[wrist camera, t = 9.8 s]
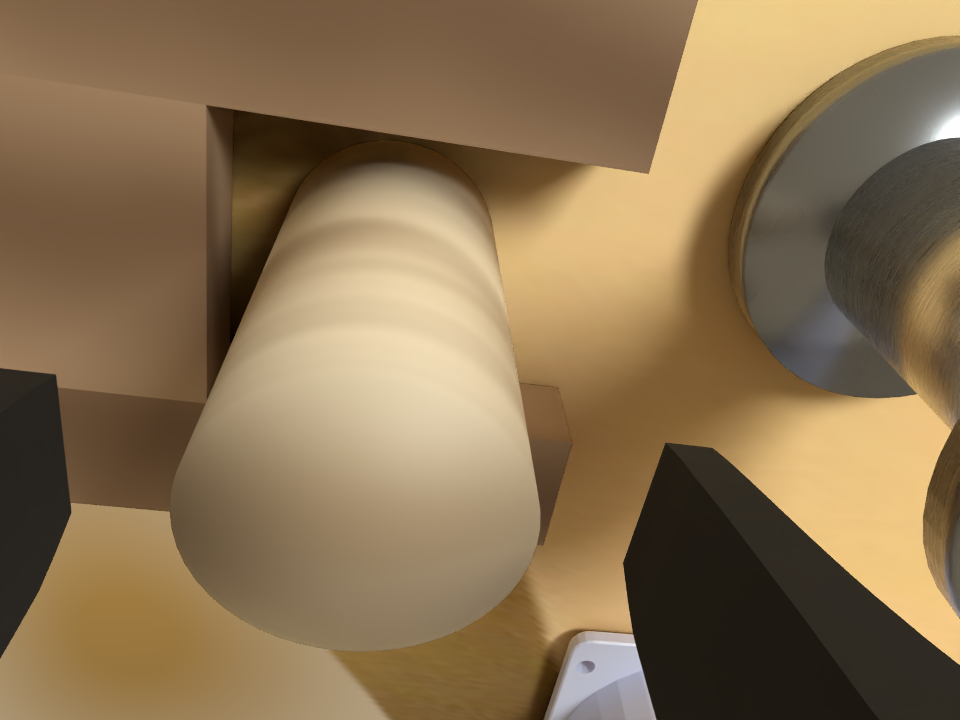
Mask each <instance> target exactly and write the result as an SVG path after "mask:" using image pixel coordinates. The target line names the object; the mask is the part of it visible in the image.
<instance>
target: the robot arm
mask: <svg viewBox="0 0 960 720" xmlns="http://www.w3.org/2000/svg"><path fill="white" fill-rule="evenodd" d="M70 515H71V504H70V495H69V486H68V477H67V468H66V459H65V450H64V441H63V432H62V423H61V414H60V405H59V396H58V387H57V378H56V374H48V373H39V372H30V371H21V370H12V369H3V368H0V658H1V656H2V655H3V653H4V651H5V649H6V647H7V646H8V644H9V642H10V640H11V639H12V637H13V636H14V634H15V632H16V630H17V629H18V627H19V625H20V623H21V621H22V619H23V618H24V616H25V615H26V613H27V611H28V609H29V608H30V606H31V604H32V602H33V601H34V599H35V597H36V595H37V593H38V592H39V590H40V587H41V585H42V583H43V580H44V578H45V576H46V573H47V571H48V569H49V566H50V564H51V562H52V560H53V557H54V555H55V552H56V550H57V547H58V545H59V542H60V540H61V537H62V535H63V532H64V530H65V527H66V525H67V522H68V520H69V517H70ZM623 566H624V573H625V581H626V589H627V597H628V604H629V611H630V617H631V623H632V629H633V634H623V633H610V632H597V631H585V632H582V633H579V634H577V635H576V636H574V637H573V638H572V639H571V641H570V642H569V645H568V648H567V651H566V654H565V657H564V660H563V663H562V666H561V669H560V672H559V675H558V678H557V681H556V684H555V687H554V690H553V693H552V696H551V699H550V702H549V705H548V708H547V711H546V714H545V717H544V720H960V665H959V664H957V663H956V662H955V661H954V660H952V659H951V658H950V657H949V656H947V655H946V654H945V653H943V652H942V651H941V650H940V649H938V648H937V647H936V646H935V645H933V644H932V643H931V642H930V641H928V640H927V639H926V638H925V637H923V636H922V635H921V634H920V633H919V632H917V631H916V630H915V629H914V628H913V627H911V626H910V625H909V624H908V623H907V622H905V621H904V620H903V619H902V618H901V617H899V616H898V615H897V614H896V613H895V612H894V611H892V610H891V609H890V608H889V607H888V606H886V605H885V604H884V603H883V602H882V601H880V600H879V599H878V598H877V597H876V596H874V595H873V594H872V593H871V592H870V591H869V590H868V589H867V588H865V587H864V586H863V585H862V584H861V583H860V582H859V581H857V580H856V579H855V578H854V577H853V576H852V575H851V574H849V573H848V572H847V571H846V570H845V569H844V568H843V567H842V566H841V565H840V564H838V563H837V562H836V561H835V560H834V559H833V558H832V557H831V556H830V555H829V554H827V553H826V552H825V551H824V550H823V549H822V548H821V547H820V546H819V545H818V544H817V543H816V542H814V541H813V540H812V539H811V538H810V537H809V536H808V535H807V534H806V533H805V532H804V531H803V530H802V529H801V528H799V527H798V526H797V525H796V524H795V523H794V522H793V521H792V520H791V519H790V518H789V517H788V516H787V515H786V514H785V513H784V512H782V511H781V510H780V509H779V508H778V507H777V506H776V505H775V504H774V503H773V502H772V501H771V500H770V499H769V498H768V497H767V496H766V495H764V494H763V493H762V492H761V491H760V490H759V489H758V488H757V487H756V486H755V485H754V484H753V483H752V482H751V481H750V480H748V479H747V478H746V477H745V476H744V475H743V474H742V473H741V472H740V471H739V470H738V469H737V468H735V467H734V466H733V465H732V464H731V463H730V462H729V461H727V460H726V459H725V458H724V457H723V456H722V455H720V454H719V453H718V452H717V451H715V450H714V449H713V448H708V447H699V446H690V445H681V444H672V443H665V446H664V449H663V452H662V455H661V457H660V460H659V463H658V466H657V469H656V472H655V474H654V477H653V480H652V483H651V486H650V488H649V491H648V494H647V497H646V500H645V503H644V505H643V508H642V511H641V514H640V517H639V519H638V522H637V525H636V528H635V531H634V534H633V536H632V539H631V542H630V545H629V548H628V551H627V553H626V556H625V559H624V562H623Z"/></svg>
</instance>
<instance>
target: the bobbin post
mask: <svg viewBox="0 0 960 720" xmlns="http://www.w3.org/2000/svg"><path fill="white" fill-rule="evenodd" d="M729 268H730V275H731V281H732V285H733V288H734V292H735V295H736V298H737V301H738V303H739V305H740V307H741V309H742V311H743V313H744V315H745V317H746V318H747V320H748V321H749V323H750V324H751V325H752V327H753V328H754V330H755V331H756V332H757V334H758V335H759V337H760V338H761V340H762V341H763V342H764V344H765V345H766V346H767V348H768V349H769V351H770V352H771V353H772V355H773V356H774V357H775V358H776V359H777V360H778V361H779V362H780V363H781V364H782V365H783V366H784V367H785V368H786V369H788V370H789V371H791V372H792V373H794V374H795V375H796V376H798V377H799V378H801V379H803V380H805V381H807V382H809V383H811V384H813V385H815V386H817V387H819V388H822V389H825V390H828V391H831V392H834V393H838V394H843V395H849V396H854V397H866V398H890V397H902V396H908V395H914V394H918V395H919V396H920V397H921V398H922V399H923V401H924V402H925V403H926V404H927V405H928V406H929V407H930V408H931V409H932V410H933V411H934V412H935V413H936V414H937V415H938V417H939V418H940V419H941V420H942V421H943V422H944V423H945V424H946V425H947V426H948V427H949V428H950V429H951V430H952V431H951V433H950V435H949V437H948V439H947V441H946V443H945V445H944V447H943V449H942V451H941V453H940V455H939V457H938V460H937V463H936V466H935V469H934V472H933V475H932V478H931V481H930V484H929V487H928V491H927V497H926V503H925V509H924V515H923V544H924V549H925V553H926V558H927V563H928V567H929V569H930V572H931V574H932V576H933V578H934V581H935V583H936V585H937V588H938V589H939V590H940V592H941V593H942V595H943V596H944V597H945V599H946V600H947V602H948V603H949V604H950V606H951V607H952V609H953V610H954V612H955V613H956V614H957V616H958V617H959V619H960V36H941V37H935V38H929V39H923V40H918V41H913V42H910V43H906V44H903V45H900V46H897V47H893V48H890V49H887V50H885V51H883V52H880V53H878V54H876V55H874V56H871V57H869V58H867V59H864V60H862V61H861V62H859V63H857V64H855V65H854V66H852V67H850V68H848V69H847V70H845V71H843V72H842V73H840V74H838V75H837V76H835V77H834V78H833V79H831V80H830V81H828V82H827V83H826V84H824V85H823V86H822V87H820V88H819V89H818V90H816V91H815V92H814V93H813V94H812V95H810V96H809V97H808V98H807V99H806V100H805V101H804V102H803V103H802V104H801V105H799V106H798V107H797V108H796V109H795V110H794V111H793V112H792V113H791V114H790V115H789V117H788V118H787V119H786V120H785V121H784V122H783V123H782V124H781V126H780V127H779V128H778V129H777V130H776V131H775V133H774V134H773V135H772V137H771V138H770V140H769V141H768V142H767V144H766V145H765V147H764V148H763V149H762V151H761V152H760V154H759V156H758V157H757V159H756V161H755V163H754V165H753V166H752V168H751V170H750V172H749V174H748V175H747V178H746V180H745V183H744V185H743V187H742V190H741V192H740V195H739V197H738V200H737V204H736V207H735V211H734V215H733V218H732V223H731V230H730V237H729Z"/></svg>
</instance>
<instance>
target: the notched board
mask: <svg viewBox="0 0 960 720" xmlns="http://www.w3.org/2000/svg"><path fill="white" fill-rule="evenodd" d="M697 2H698V0H0V368H3V369H12V370H21V371H30V372H39V373H48V374H56V378H57V387H58V396H59V405H60V414H61V423H62V432H63V441H64V450H65V459H66V468H67V477H68V486H69V495H70V503H82V504H92V505H104V506H115V507H125V508H136V509H148V510H158V511H169V512H170V499H171V490H172V486H173V482H174V478H175V474H176V472H177V469H178V467H179V465H180V462H181V460H182V458H183V455H184V453H185V451H186V448H187V446H188V444H189V441H190V439H191V437H192V434H193V432H194V430H195V427H196V425H197V423H198V420H199V418H200V416H201V413H202V411H203V409H204V406H205V404H206V402H207V399H208V397H209V395H210V392H211V390H212V388H213V385H214V383H215V381H216V378H217V376H218V374H219V371H220V369H221V367H222V364H223V362H224V360H225V357H226V355H227V353H228V350H229V348H230V303H231V237H232V170H233V109H235V110H241V111H248V112H254V113H261V114H267V115H273V116H280V117H286V118H293V119H299V120H306V121H312V122H318V123H325V124H331V125H338V126H344V127H351V128H357V129H363V130H370V131H376V132H383V133H389V134H396V135H402V136H408V137H415V138H421V139H428V140H434V141H441V142H447V143H453V144H460V145H466V146H473V147H479V148H486V149H492V150H499V151H505V152H511V153H518V154H524V155H531V156H537V157H544V158H550V159H556V160H563V161H569V162H576V163H582V164H589V165H595V166H601V167H608V168H614V169H621V170H627V171H634V172H640V173H646V174H649V171H650V167H651V164H652V160H653V157H654V153H655V150H656V146H657V143H658V139H659V136H660V132H661V129H662V125H663V122H664V118H665V114H666V111H667V107H668V104H669V100H670V97H671V93H672V90H673V86H674V83H675V79H676V76H677V72H678V69H679V65H680V62H681V58H682V55H683V51H684V48H685V44H686V40H687V37H688V33H689V30H690V26H691V23H692V19H693V16H694V12H695V9H696V5H697ZM519 385H520V391H521V397H522V403H523V409H524V415H525V421H526V426H527V432H528V438H529V444H530V450H531V456H532V462H533V468H534V473H535V479H536V485H537V491H538V498H539V504H540V532H539V537H538V542H537V545H543V544H544V541H545V537H546V534H547V530H548V527H549V523H550V520H551V516H552V513H553V509H554V506H555V502H556V499H557V495H558V491H559V488H560V484H561V481H562V477H563V474H564V470H565V467H566V463H567V460H568V456H569V453H570V449H571V446H572V440H571V436H570V432H569V428H568V424H567V420H566V416H565V412H564V408H563V404H562V400H561V396H560V392H559V388H556V387H547V386H539V385H530V384H522V383H519Z"/></svg>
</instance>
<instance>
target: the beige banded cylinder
mask: <svg viewBox="0 0 960 720" xmlns="http://www.w3.org/2000/svg"><path fill="white" fill-rule="evenodd" d="M170 518H171V527H172V531H173V535H174V538H175V542H176V545H177V548H178V550H179V552H180V554H181V556H182V559H183V561H184V563H185V565H186V566H187V567H188V569H189V571H190V572H191V574H192V575H193V577H194V578H195V579H196V581H197V582H198V583H199V584H200V585H201V586H202V587H203V588H204V590H205V591H206V592H207V593H208V594H209V595H210V596H211V597H212V598H213V599H215V600H216V601H217V602H218V603H219V604H220V605H222V606H223V607H224V608H225V609H227V610H228V611H230V612H231V613H233V614H234V615H236V616H237V617H238V618H240V619H241V620H243V621H245V622H247V623H249V624H251V625H253V626H254V627H256V628H258V629H260V630H263V631H265V632H267V633H270V634H272V635H274V636H277V637H280V638H283V639H286V640H289V641H293V642H296V643H299V644H304V645H308V646H313V647H317V648H323V649H331V650H340V651H363V652H364V651H383V650H391V649H398V648H405V647H410V646H414V645H418V644H422V643H427V642H430V641H432V640H435V639H438V638H441V637H444V636H447V635H449V634H451V633H453V632H456V631H458V630H460V629H462V628H464V627H466V626H468V625H470V624H471V623H473V622H475V621H476V620H478V619H480V618H481V617H483V616H484V615H485V614H487V613H488V612H489V611H491V610H492V609H493V608H495V607H496V606H497V605H498V604H499V603H500V602H501V601H502V600H503V599H504V598H505V597H506V596H507V595H508V594H509V593H510V592H511V591H512V590H513V588H514V587H515V586H516V585H517V583H518V582H519V581H520V580H521V578H522V576H523V575H524V573H525V571H526V569H527V568H528V566H529V564H530V562H531V560H532V557H533V554H534V552H535V549H536V546H537V542H538V537H539V532H540V504H539V498H538V491H537V485H536V479H535V473H534V468H533V462H532V456H531V450H530V444H529V438H528V432H527V426H526V421H525V415H524V409H523V403H522V397H521V391H520V385H519V379H518V374H517V368H516V362H515V356H514V350H513V344H512V338H511V332H510V327H509V321H508V315H507V309H506V303H505V297H504V291H503V285H502V280H501V274H500V268H499V262H498V256H497V250H496V244H495V238H494V232H493V227H492V221H491V217H490V214H489V211H488V207H487V205H486V203H485V201H484V199H483V196H482V195H481V193H480V192H479V190H478V188H477V187H476V185H475V184H474V183H473V182H472V180H471V179H470V178H469V177H468V176H467V174H466V173H464V172H463V171H462V170H461V169H460V168H459V167H458V166H457V165H456V164H454V163H453V162H451V161H450V160H448V159H447V158H446V157H444V156H442V155H440V154H438V153H436V152H435V151H433V150H430V149H427V148H425V147H422V146H419V145H416V144H411V143H407V142H400V141H372V142H366V143H361V144H358V145H354V146H351V147H348V148H346V149H343V150H341V151H339V152H337V153H335V154H333V155H332V156H330V157H329V158H327V159H325V160H324V161H323V162H321V163H320V164H319V165H318V166H317V167H316V168H315V169H313V170H312V172H311V173H310V174H309V175H308V176H307V177H306V178H305V180H304V181H303V183H302V184H301V186H300V187H299V189H298V190H297V192H296V195H295V197H294V199H293V201H292V204H291V206H290V208H289V211H288V213H287V215H286V218H285V220H284V222H283V225H282V227H281V229H280V232H279V234H278V236H277V239H276V241H275V243H274V246H273V248H272V250H271V253H270V255H269V257H268V259H267V262H266V264H265V266H264V269H263V271H262V273H261V276H260V278H259V280H258V283H257V285H256V287H255V290H254V292H253V294H252V297H251V299H250V301H249V304H248V306H247V308H246V311H245V313H244V315H243V318H242V320H241V322H240V325H239V327H238V329H237V332H236V334H235V336H234V339H233V341H232V343H231V346H230V348H229V350H228V353H227V355H226V357H225V360H224V362H223V364H222V367H221V369H220V371H219V374H218V376H217V378H216V381H215V383H214V385H213V388H212V390H211V392H210V395H209V397H208V399H207V402H206V404H205V406H204V409H203V411H202V413H201V416H200V418H199V420H198V423H197V425H196V427H195V430H194V432H193V434H192V437H191V439H190V441H189V444H188V446H187V448H186V451H185V453H184V455H183V458H182V460H181V462H180V465H179V467H178V469H177V472H176V474H175V478H174V482H173V486H172V490H171V499H170Z"/></svg>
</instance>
